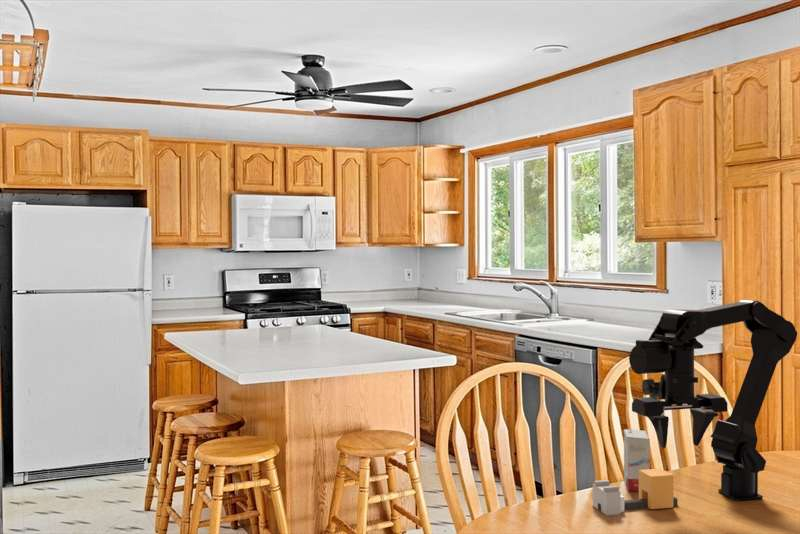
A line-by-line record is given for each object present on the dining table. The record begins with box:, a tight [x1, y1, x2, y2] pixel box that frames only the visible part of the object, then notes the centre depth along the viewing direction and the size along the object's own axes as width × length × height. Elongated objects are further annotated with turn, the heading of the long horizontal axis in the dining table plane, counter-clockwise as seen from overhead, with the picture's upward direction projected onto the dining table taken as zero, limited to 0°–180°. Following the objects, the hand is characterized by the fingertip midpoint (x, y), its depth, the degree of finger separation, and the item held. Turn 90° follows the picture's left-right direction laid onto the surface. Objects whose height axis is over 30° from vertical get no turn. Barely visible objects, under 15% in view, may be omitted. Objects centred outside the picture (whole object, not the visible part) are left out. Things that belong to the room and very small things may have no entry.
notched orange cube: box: [638, 468, 674, 510], centre depth 157 cm, size 5×5×7 cm
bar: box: [597, 496, 679, 512], centre depth 156 cm, size 17×1×1 cm, turn 102°
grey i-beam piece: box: [592, 479, 622, 517], centre depth 155 cm, size 3×6×5 cm, turn 12°
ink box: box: [623, 428, 651, 492], centre depth 170 cm, size 9×5×12 cm, turn 168°
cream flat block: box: [621, 494, 625, 513], centre depth 155 cm, size 1×4×3 cm, turn 12°
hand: (679, 446), depth 158 cm, fingers open, 7 cm apart
